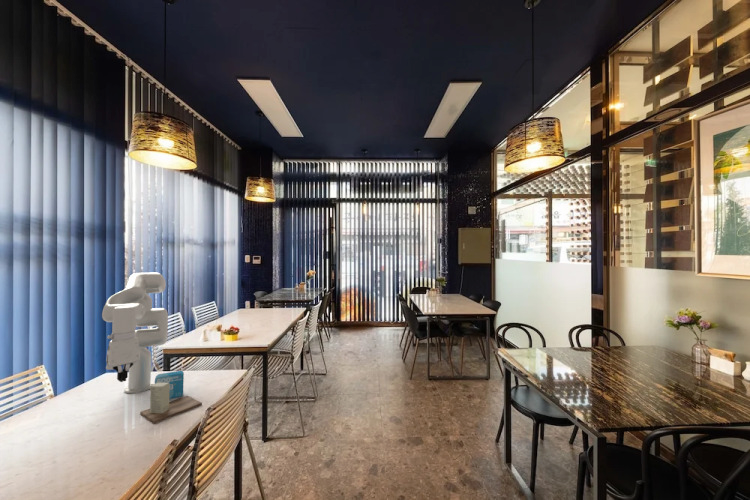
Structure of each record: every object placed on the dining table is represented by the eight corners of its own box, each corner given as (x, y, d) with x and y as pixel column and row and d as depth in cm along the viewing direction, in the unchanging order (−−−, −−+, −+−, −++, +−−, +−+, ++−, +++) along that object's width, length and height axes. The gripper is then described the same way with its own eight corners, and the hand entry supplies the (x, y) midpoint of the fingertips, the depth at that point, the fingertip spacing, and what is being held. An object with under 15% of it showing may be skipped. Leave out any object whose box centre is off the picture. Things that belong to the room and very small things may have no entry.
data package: (154, 402, 148) (154, 377, 149) (154, 398, 152) (155, 374, 152) (183, 396, 155) (183, 372, 155) (183, 393, 158) (183, 370, 159)
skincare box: (169, 409, 139) (170, 382, 139) (162, 414, 134) (162, 386, 135) (157, 408, 140) (157, 381, 140) (149, 413, 135) (149, 385, 136)
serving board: (140, 414, 136) (140, 411, 136) (187, 397, 153) (187, 395, 153) (153, 423, 129) (153, 421, 129) (201, 405, 145) (201, 402, 145)
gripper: (103, 341, 118) (101, 389, 117) (148, 333, 130) (147, 377, 129) (97, 338, 122) (95, 384, 121) (141, 331, 134) (140, 373, 134)
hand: (122, 380), depth 125 cm, fingers closed
